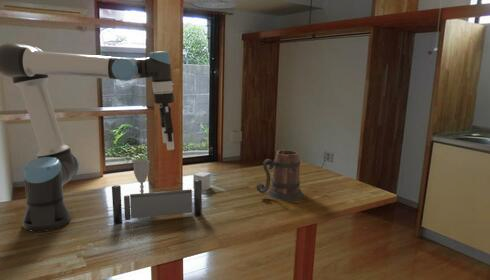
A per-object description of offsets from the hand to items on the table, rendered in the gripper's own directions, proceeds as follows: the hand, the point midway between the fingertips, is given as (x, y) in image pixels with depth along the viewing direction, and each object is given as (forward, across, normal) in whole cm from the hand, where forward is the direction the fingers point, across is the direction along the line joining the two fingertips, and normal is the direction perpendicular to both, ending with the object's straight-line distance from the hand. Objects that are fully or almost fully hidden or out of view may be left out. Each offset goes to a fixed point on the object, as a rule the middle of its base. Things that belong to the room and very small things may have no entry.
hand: (168, 146), depth 144 cm
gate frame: (+26, -9, +7) cm, 28 cm away
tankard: (+30, +3, -48) cm, 57 cm away
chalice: (+25, +10, +12) cm, 30 cm away
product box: (+27, +20, -16) cm, 37 cm away
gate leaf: (+25, -9, +7) cm, 27 cm away
